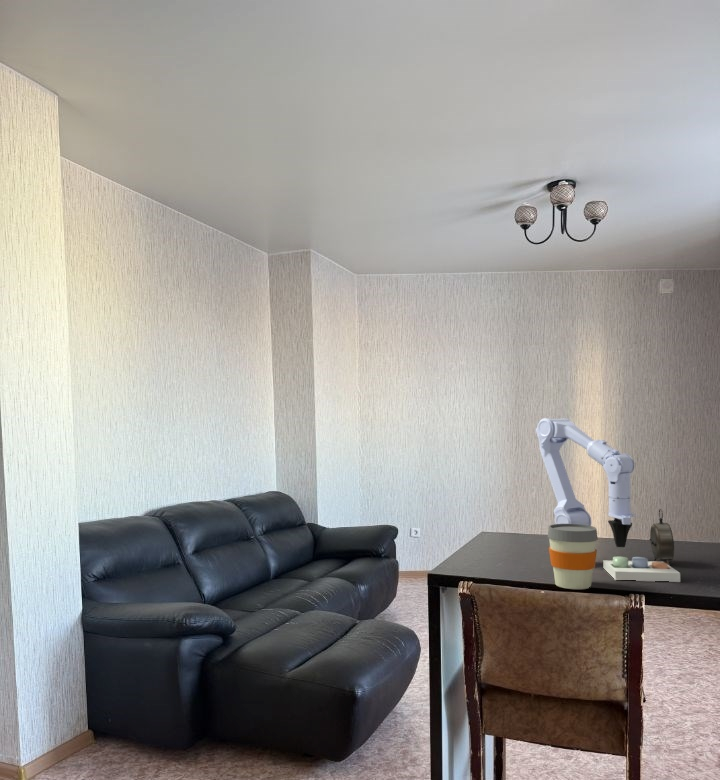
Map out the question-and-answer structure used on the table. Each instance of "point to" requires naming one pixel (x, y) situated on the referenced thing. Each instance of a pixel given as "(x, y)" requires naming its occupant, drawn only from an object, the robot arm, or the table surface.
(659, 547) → the alarm clock
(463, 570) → the table surface
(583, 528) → the reusable coffee cup
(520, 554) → the table surface
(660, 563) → the terracotta button
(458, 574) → the table surface
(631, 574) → the panel
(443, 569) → the table surface
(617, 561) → the sage button
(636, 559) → the slate button
